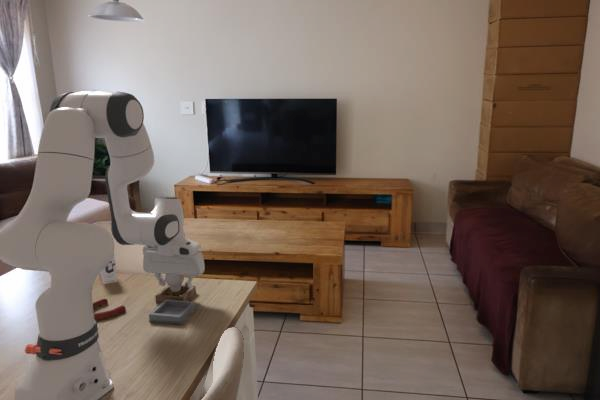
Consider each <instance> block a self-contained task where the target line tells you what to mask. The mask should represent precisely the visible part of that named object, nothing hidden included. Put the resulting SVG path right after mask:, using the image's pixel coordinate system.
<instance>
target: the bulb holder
mask: <svg viewBox="0 0 600 400" xmlns="http://www.w3.org/2000/svg"><path fill="white" fill-rule="evenodd" d="M196 289H197V288H196V285H192V286H191V287H190V288H185V284H182V285H181V289H180V294H182V295H180V296H172V295H171V294H172V292H171V289H170V287H169V285H168V284H167V286H165V287H164V288H162V290H160V291H159V292H157V294H155V295H154V298H155V303H156V304H161V303H162V302H163V301H164V300H166V299H168V300H179V301H189V300H190V299H191V298H192V297H193V296H194V295H196V293H197V290H196Z"/></svg>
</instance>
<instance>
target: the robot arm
mask: <svg viewBox="0 0 600 400" xmlns="http://www.w3.org/2000/svg"><path fill="white" fill-rule="evenodd" d="M144 118H145V115H144V109H143V105H142V104H141V102H140V101H139V100H138V99H137V97H136V96H135V95H134V94H131V93H128V92H124V91H115V92H112V91H103V90H102V91H101V90H100V91H98V90H83V91H77V92H74V91H69V92H65V93H61V94H59V95H57V96H56V97H55V98H54V99H53V101H52V103H51V105H50V108H49V113H48V115H47V116H46V119H45V121H44V125H43V128H42V131H41V133H40V139H39V141H38V143H39V144H38V149H37V157H36V165H35V170H34V177H33V182H32V187H31V191H30V194H29V195H28V198H27V200H26V202H25V204H24V205H23V207H22V209H21V210H20V211H19V213H18V215H17V216H16V217H15V218H14V219H13V220H12V221H11V222H9V223H8V224H6V225H4V227H3V228H1V230H0V260H1V261H2V263H5V265H6V264H7V265H10V266H11V267H12V266H13V267H15V268H18V269H21V270H24V271H35V272H36V271H38V272H46V273H48V274H49V275H50V287H48V288H46V289H45V290H43V292H41V294H40V295H38V297H37V299H36V300H35V312H36V318H37V324H38V331H39V333H38V336H37V341H36V344H32V343H28V344H27V345H25V348H24V353H25V354H26V355H30V354H31V355H35V356H34V358H33V359H32V361H31V362H30V364H29V366H28V368H27V369H26V370H25V373H24V374H23V376H22V377H21V379H20V380H19V382H18V384H17V385H16V388H15V390H14V400H99V399H101V398H102V397H103V396H105V395H106V394H107V393H108V392H109V391H112V389H113V388H114V386H115V385H114V383H113V380H112V379H111V378H110V376H111V375H110V371H109V369H108V368H107V364H106V359H105V357H104V353H103V350H102V348H101V346H100V343H99V340H98V339H99V337H100V334H99V327H98V323H97V322H98V321H96V320H95V319H94V314H95V313H94V310H93V303H94V301H93V290H94V289H93V287H94V284H95V280H96V278H97V276H99V275H100V274H99V273H100V272H101V271H102V270H103V269H105V268H106V267H107V265H108V264H109V263H110V261H111V259H112V257H113V254H114V255H115V241H116V242H117V243H118V244H119V245H121V246H133V245H134V246H136V245H139V246H143V247H142V255H143V259H142V266H143V267H142V269H143V271H144V272H145V273H149V274H154V277H155V279H156V280H157V281H158V286H161V287H164V286H165V285H166V284H167V283H166V281H165V278H163V276H162V275H164V274H165V275H166V274H168V273H173V274H176V275H184V276H186V278H187V279H188V280H186V281H184V285H185V288H190V287H191V286H193V285H192V281H193V279H194V278H195V277H200V276H201V275H203V273H204V272H205V268H206V267H205V266H206V265H205V259H204V255H203V253H202V252H201V251H200V250H201V248H202V245H201V243H200V242H198V241H195V240H192V239H189V238H187V237H186V233H185V230H184V229H185V228H184V225H185V217H184V208H183V206H182V202H181V199H180V198H179V197H176V196H158V197H156V198H155V199H154V208H153V209H152V210H151V211H150V212H137V211H135V210H133V209H132V208H131V206H130V201H129V200H130V199H129V191H128V186H129V185H130V184H132V183H136V182H138V181H139V180H141V179H143V178H144V177H146V176H147V175H148V174H149V173H150V172H151V170H152V169H153V166H154V164H155V156H154V151H153V147H152V143H151V140H150V137H149V133H148V131H147V128H146V126H145V124H144V120H145V119H144ZM96 138H97V139H104V141H105V145H106V150H107V152H108V156H109V163H110V165H109V166H108V167H107V169H106V171H105V175H104V178H105V187H106V193H107V200H108V205H109V211H110V217H111V219H110V220H111V221H110V222H111V223H110V226H111V227H110V230H111V233H110V231H109V230H108V229H107V228H106V227H105V228H104V227H102V226H100V225H96V224H92V223H89V222H83V221H69V220H68V218H69V216H70V214H71V212H72V210H73V209H74V208H75V207H76V206H77V205H79V204H80V203H82V202H84V201H85V200H86V199H87V198H88V197H89V195H90V193H91V188H92V181H93V171H94V164H95V163H94V162H95V161H94V160H95V150H96V149H95V145H96V144H95V143H96V142H95V141H96ZM113 238H114V239H113ZM114 240H115V241H114Z"/></svg>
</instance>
